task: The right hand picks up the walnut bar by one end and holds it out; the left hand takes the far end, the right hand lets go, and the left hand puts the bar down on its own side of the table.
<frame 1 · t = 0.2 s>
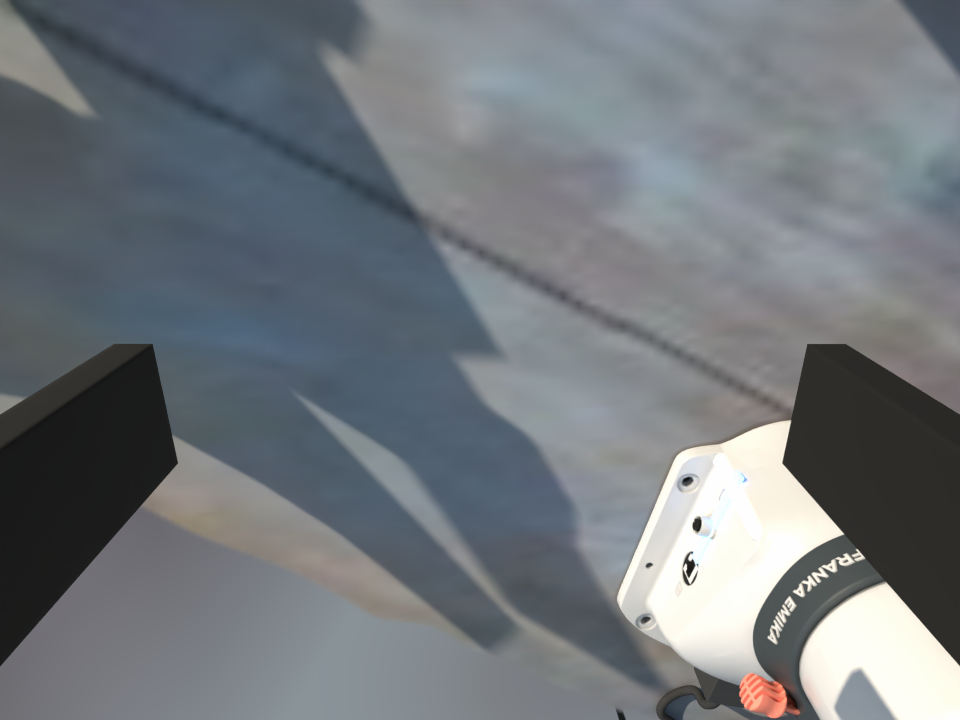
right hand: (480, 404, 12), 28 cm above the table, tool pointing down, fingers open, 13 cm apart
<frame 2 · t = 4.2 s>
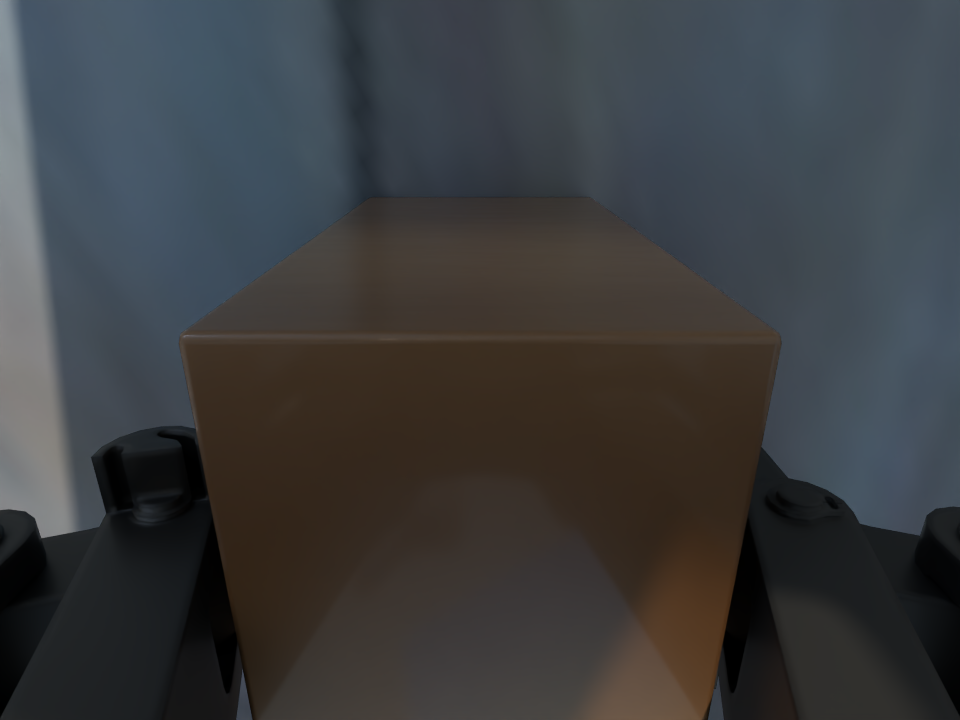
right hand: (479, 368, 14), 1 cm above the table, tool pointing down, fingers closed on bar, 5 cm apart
bar: (480, 641, 18), on the table, touching right hand
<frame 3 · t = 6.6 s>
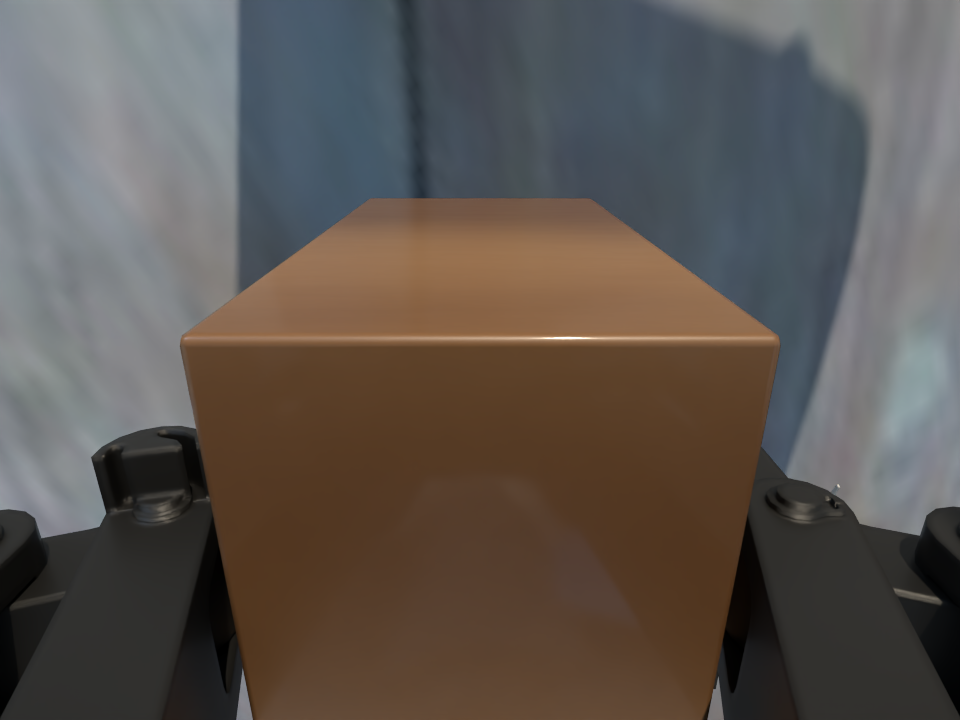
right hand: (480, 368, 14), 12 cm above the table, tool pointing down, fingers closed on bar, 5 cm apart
bar: (480, 642, 18), point 12 cm above the table, touching right hand
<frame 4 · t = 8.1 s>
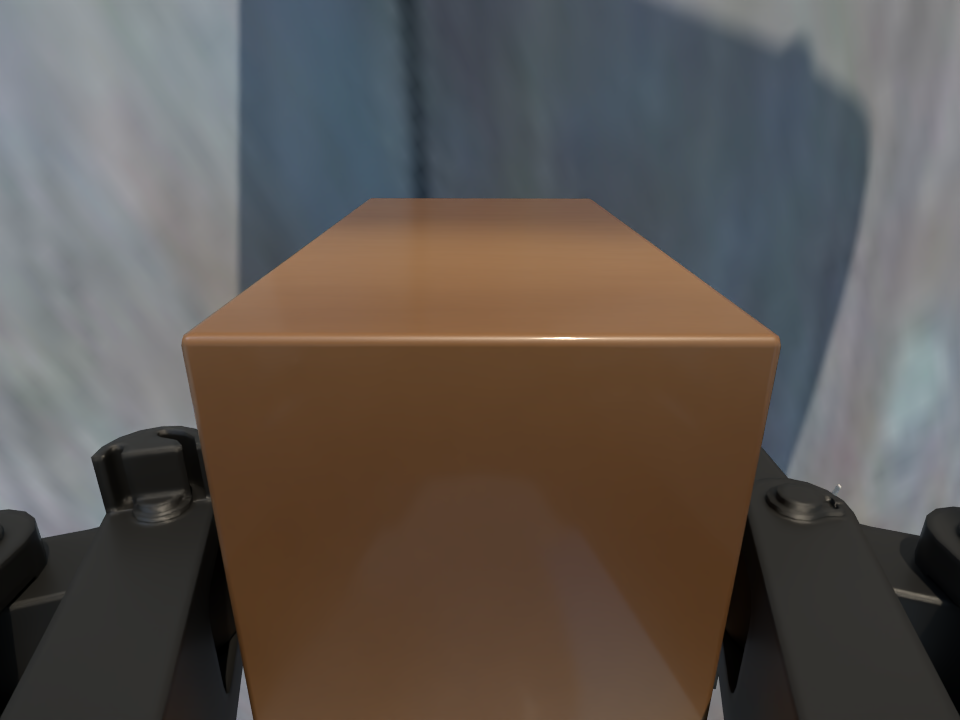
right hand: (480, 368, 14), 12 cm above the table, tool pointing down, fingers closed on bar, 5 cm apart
bar: (479, 642, 18), point 12 cm above the table, touching right hand, left hand
when the right hand's fingers open (12 cm above the table, at t = 9.1 s): bar stays where it is, held by the left hand.
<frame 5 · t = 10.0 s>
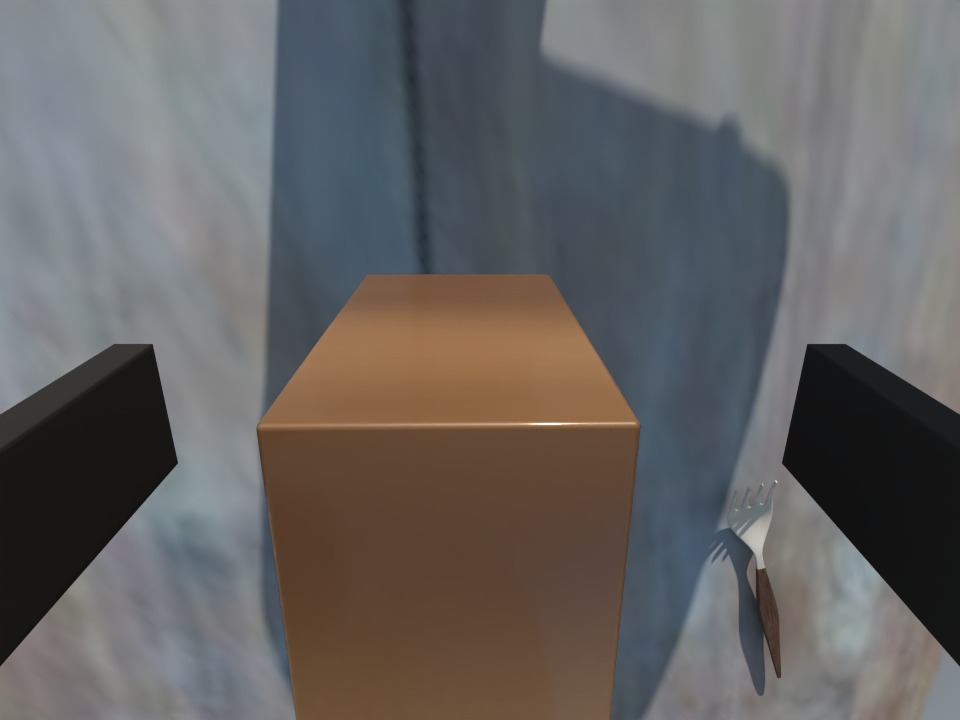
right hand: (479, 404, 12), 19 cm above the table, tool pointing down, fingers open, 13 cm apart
bar: (461, 647, 21), point 14 cm above the table, touching left hand
fork: (757, 574, 37), on the table
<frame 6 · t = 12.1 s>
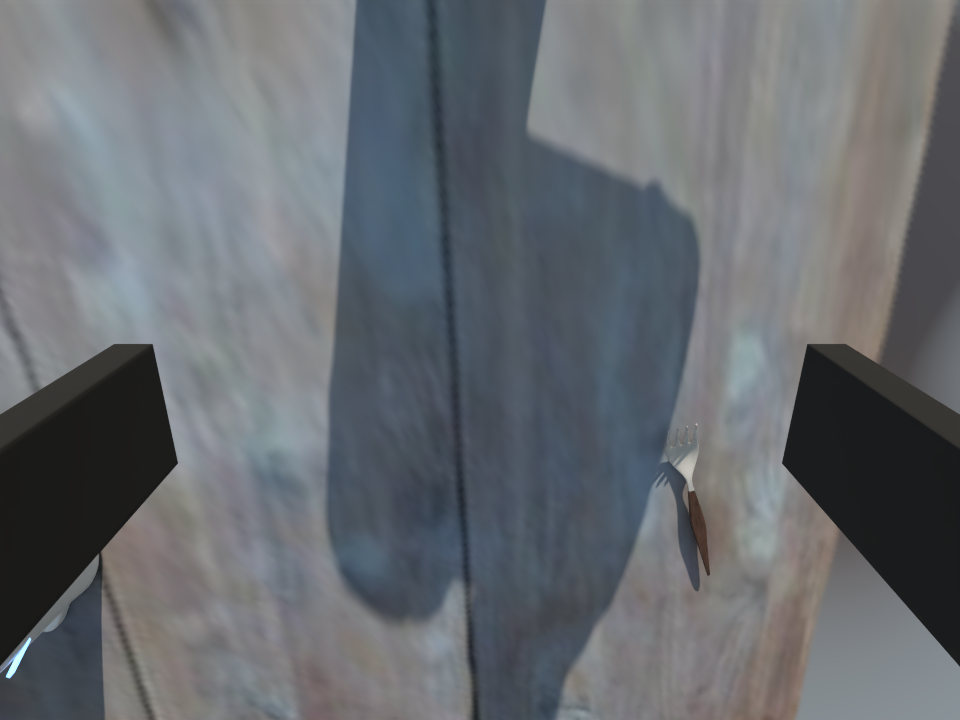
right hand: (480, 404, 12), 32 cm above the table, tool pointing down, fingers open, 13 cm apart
fork: (690, 496, 51), on the table
when the left hand's fingers open (4 cm above the table, at t = 13.8 s): bar stays where it is, on the table.
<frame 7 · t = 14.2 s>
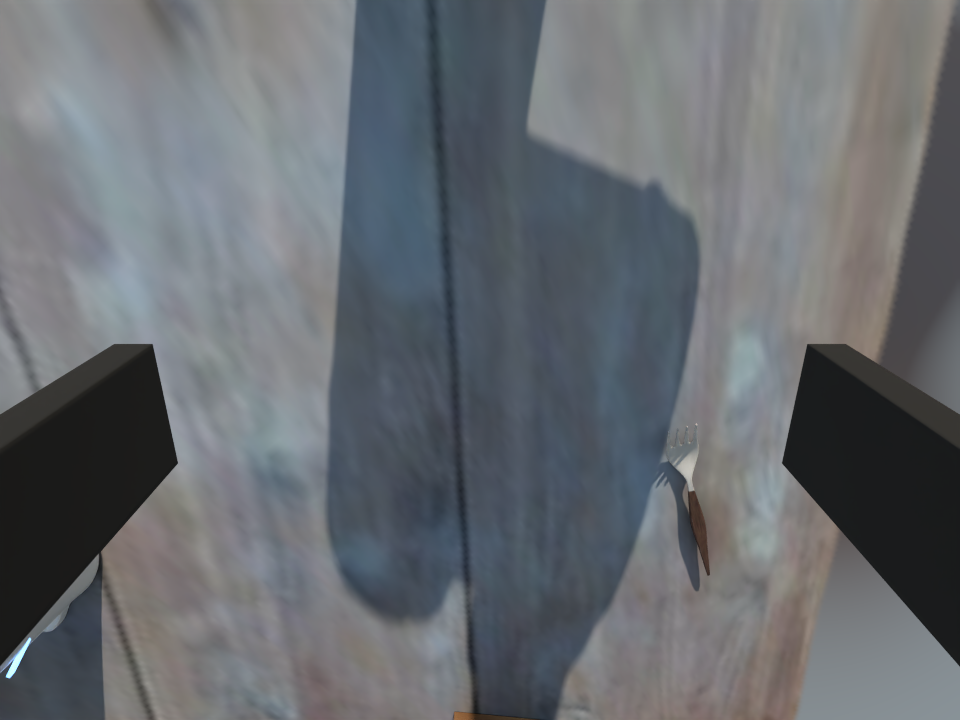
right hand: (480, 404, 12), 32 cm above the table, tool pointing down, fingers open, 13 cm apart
fork: (690, 496, 51), on the table
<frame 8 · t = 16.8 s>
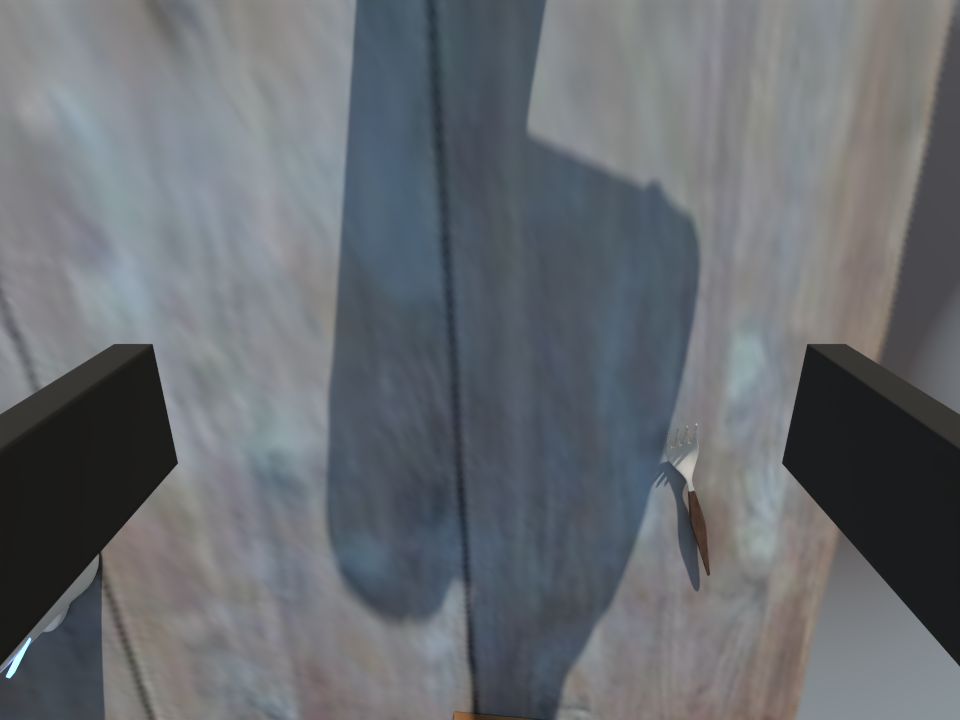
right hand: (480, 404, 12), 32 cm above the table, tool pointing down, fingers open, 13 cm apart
fork: (690, 496, 51), on the table
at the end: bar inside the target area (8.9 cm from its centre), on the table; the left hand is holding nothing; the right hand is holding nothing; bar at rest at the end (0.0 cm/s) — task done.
